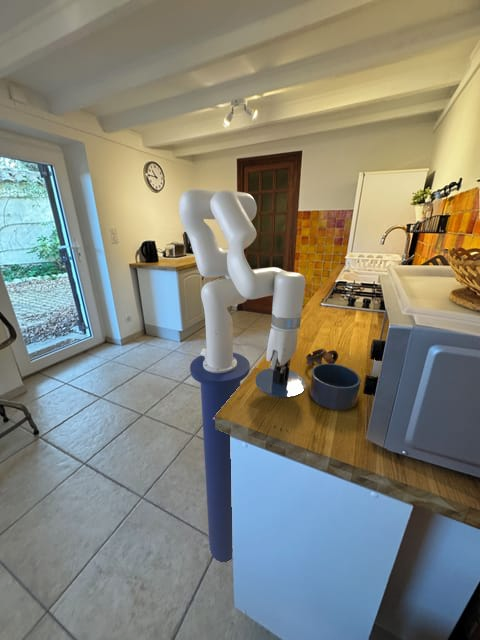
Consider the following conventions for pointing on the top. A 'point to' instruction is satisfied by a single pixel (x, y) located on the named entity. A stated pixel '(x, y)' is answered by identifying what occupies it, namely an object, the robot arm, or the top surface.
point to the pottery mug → (322, 353)
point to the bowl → (334, 386)
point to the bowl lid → (287, 390)
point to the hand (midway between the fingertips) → (280, 380)
